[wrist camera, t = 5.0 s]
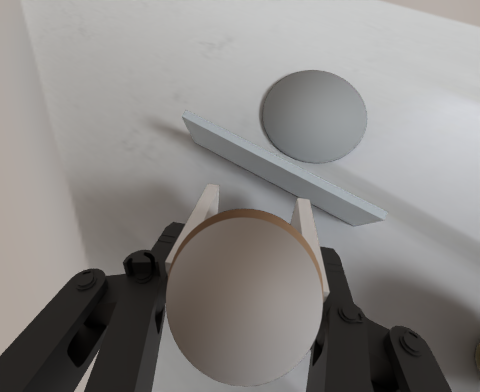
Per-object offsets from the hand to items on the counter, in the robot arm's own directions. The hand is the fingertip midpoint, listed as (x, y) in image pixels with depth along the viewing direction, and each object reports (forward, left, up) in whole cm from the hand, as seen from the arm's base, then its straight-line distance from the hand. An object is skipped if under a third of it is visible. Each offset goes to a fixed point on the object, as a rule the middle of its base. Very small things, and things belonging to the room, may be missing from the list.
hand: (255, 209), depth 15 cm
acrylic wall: (0, -4, -3) cm, 5 cm away
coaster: (0, -11, -3) cm, 11 cm away
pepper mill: (-1, +3, -3) cm, 5 cm away
